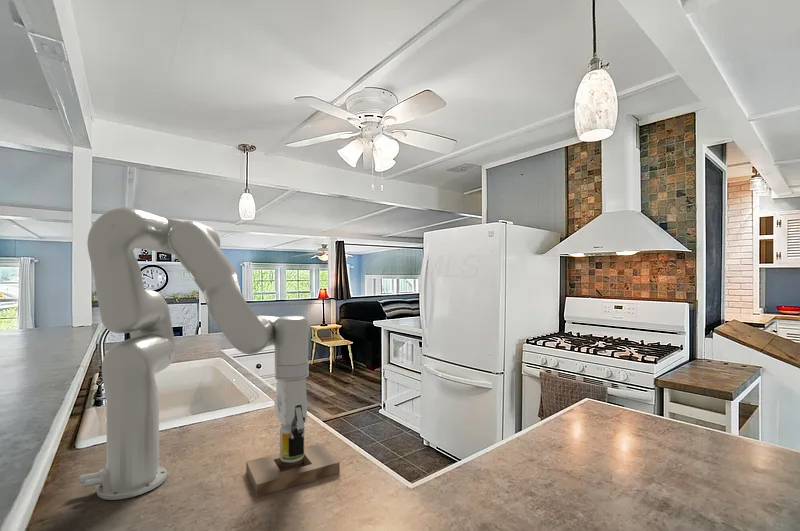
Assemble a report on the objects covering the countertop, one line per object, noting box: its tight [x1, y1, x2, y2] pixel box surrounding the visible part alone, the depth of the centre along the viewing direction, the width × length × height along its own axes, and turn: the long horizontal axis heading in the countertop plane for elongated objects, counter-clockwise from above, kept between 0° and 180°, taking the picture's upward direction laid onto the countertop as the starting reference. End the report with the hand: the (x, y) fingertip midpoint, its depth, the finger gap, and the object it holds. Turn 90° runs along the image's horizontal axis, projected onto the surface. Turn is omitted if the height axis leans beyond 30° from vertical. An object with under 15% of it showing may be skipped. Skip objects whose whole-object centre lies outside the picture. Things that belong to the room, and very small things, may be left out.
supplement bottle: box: [279, 420, 305, 463], centre depth 90 cm, size 5×5×10 cm
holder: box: [245, 442, 341, 498], centre depth 90 cm, size 18×12×2 cm, turn 121°
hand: (292, 449), depth 90 cm, fingers closed on supplement bottle, 5 cm apart
